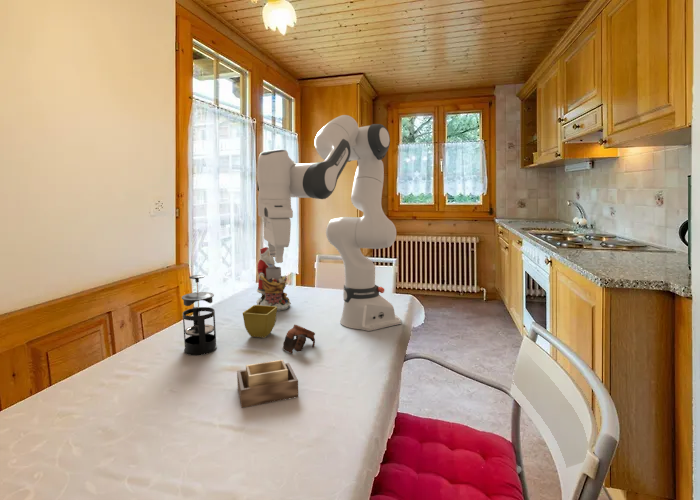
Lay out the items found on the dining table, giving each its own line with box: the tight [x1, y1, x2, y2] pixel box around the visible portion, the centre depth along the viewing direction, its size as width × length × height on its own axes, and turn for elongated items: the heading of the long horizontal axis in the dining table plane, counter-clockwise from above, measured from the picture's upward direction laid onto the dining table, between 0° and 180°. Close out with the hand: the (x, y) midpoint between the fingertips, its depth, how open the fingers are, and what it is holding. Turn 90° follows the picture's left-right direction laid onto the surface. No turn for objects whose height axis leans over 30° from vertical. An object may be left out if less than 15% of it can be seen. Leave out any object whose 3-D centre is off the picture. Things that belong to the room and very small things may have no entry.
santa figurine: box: [256, 246, 292, 312], centre depth 160 cm, size 17×14×25 cm
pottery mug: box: [282, 324, 316, 354], centre depth 117 cm, size 12×10×8 cm
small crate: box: [245, 359, 288, 388], centre depth 91 cm, size 9×6×6 cm, turn 111°
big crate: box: [236, 362, 299, 409], centre depth 92 cm, size 13×10×4 cm
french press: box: [181, 274, 218, 357], centre depth 115 cm, size 12×9×23 cm
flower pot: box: [242, 304, 278, 339], centre depth 128 cm, size 9×9×9 cm
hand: (275, 259), depth 106 cm, fingers open, 8 cm apart
